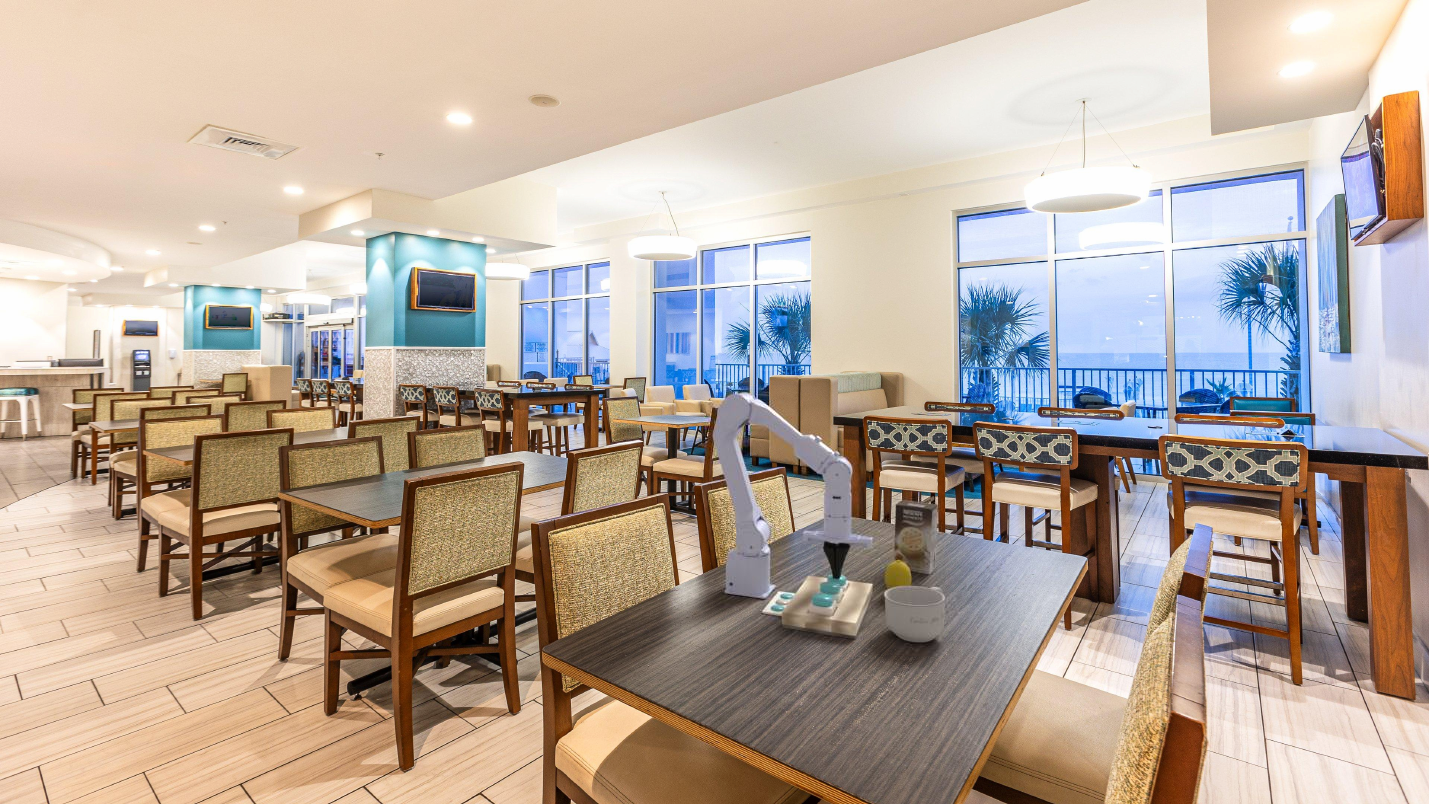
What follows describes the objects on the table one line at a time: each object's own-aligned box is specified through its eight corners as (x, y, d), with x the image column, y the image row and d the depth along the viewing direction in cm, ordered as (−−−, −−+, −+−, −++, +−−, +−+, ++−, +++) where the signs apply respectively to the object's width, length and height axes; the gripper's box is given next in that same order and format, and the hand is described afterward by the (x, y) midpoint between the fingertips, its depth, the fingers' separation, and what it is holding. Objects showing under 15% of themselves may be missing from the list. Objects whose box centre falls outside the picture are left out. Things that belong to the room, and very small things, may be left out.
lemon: (912, 601, 134) (913, 564, 133) (885, 599, 135) (886, 563, 134) (909, 592, 139) (910, 556, 138) (883, 590, 140) (884, 555, 140)
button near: (808, 615, 120) (808, 599, 120) (813, 607, 125) (814, 591, 124) (831, 619, 119) (831, 602, 119) (836, 610, 123) (836, 594, 123)
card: (762, 613, 127) (762, 610, 127) (778, 593, 139) (778, 590, 138) (786, 616, 126) (786, 614, 126) (800, 596, 137) (801, 593, 137)
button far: (824, 594, 133) (824, 579, 133) (828, 587, 138) (828, 572, 137) (844, 596, 132) (845, 581, 132) (848, 589, 136) (848, 575, 136)
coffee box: (892, 568, 155) (893, 504, 154) (899, 561, 161) (901, 499, 160) (930, 575, 150) (932, 508, 149) (937, 567, 156) (938, 503, 155)
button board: (781, 627, 121) (781, 611, 121) (808, 588, 141) (808, 575, 141) (855, 639, 116) (855, 623, 115) (872, 597, 136) (872, 583, 136)
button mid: (816, 602, 127) (817, 587, 127) (821, 595, 131) (821, 580, 131) (838, 605, 125) (838, 590, 125) (842, 598, 129) (842, 583, 129)
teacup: (913, 653, 110) (914, 609, 109) (871, 630, 120) (871, 589, 119) (969, 637, 116) (970, 595, 116) (924, 616, 126) (925, 577, 125)
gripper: (799, 515, 133) (799, 579, 133) (869, 522, 127) (868, 588, 128) (807, 508, 139) (806, 568, 140) (874, 514, 134) (873, 577, 135)
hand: (836, 577), depth 134 cm, fingers closed, pressing on button far
